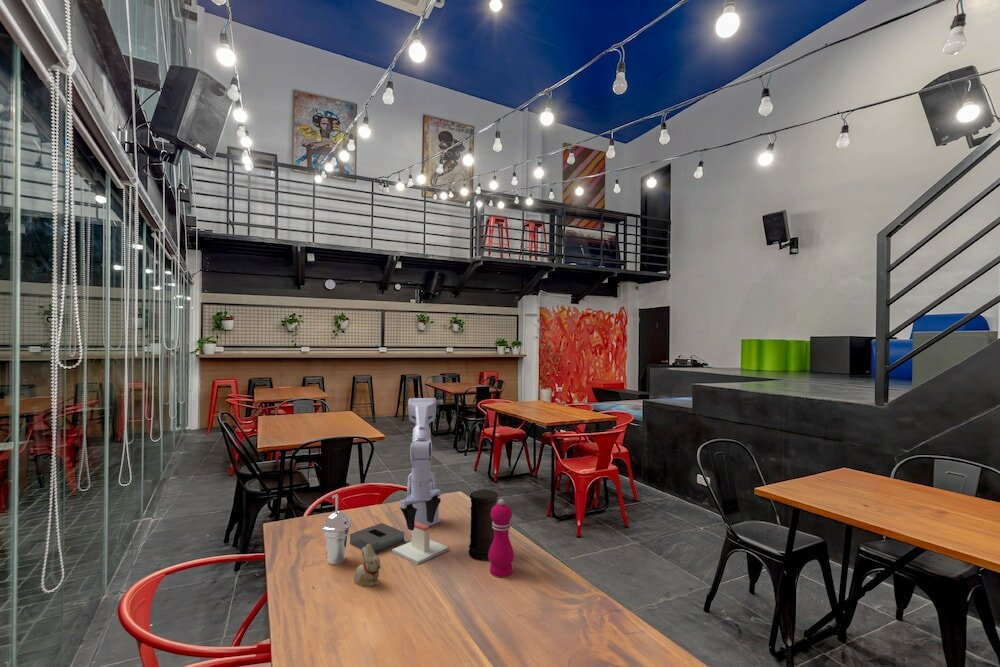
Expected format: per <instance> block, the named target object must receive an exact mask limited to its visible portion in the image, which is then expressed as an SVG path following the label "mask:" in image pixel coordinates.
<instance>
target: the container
mask: <svg viewBox="0 0 1000 667" xmlns="http://www.w3.org/2000/svg"><path fill="white" fill-rule="evenodd" d="M469 497H470V498H469V499H470V503H471V505H470V536H469V538H470V539H469V541H470V542H469V545H468V548H469V549H468V555H469V557H470V558H471V559H473V560H476V561H489V559H488V553H489V549H490V547H491V544H492V542H493V539H494V529H493V528H492V526H493V524H492V523H493V520H492V518H491V510H492V508H493V507H494V506H495V505H497V501H498V498H499V495H498V492H496V491H495V490H492V489H478V490H473V491H472V492H470V494H469Z"/></svg>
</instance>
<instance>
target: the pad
mask: <svg viewBox="0 0 1000 667" xmlns="http://www.w3.org/2000/svg"><path fill="white" fill-rule="evenodd" d="M447 551H449V546H446V545H444V544H442V543H439V542H436V541H434V540H433V539H430V544H429V550H428V551H426V552H422V551H420V550H418V549H416V548H413V547H412V540H411V541H409V542H407V543H405V544H402V545H399V546H397V547H395V548H392V549H391V553H392V554H395V555H398V556H400V557H401V558H403V559H406V560H408V561H410V562H411V563H414V564H417V565H419V564H421V563H422V564H423V562H426V561H428V560H431V559H432V558H434V557H436V556H439V555H441V554H442V553H445V552H447Z"/></svg>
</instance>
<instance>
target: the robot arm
mask: <svg viewBox="0 0 1000 667" xmlns="http://www.w3.org/2000/svg"><path fill="white" fill-rule="evenodd" d="M407 403H408V405H407V410H408V411H407V412H408V419H409V422H412V423H414V425H415V426H414V427H413V429H412V442H411V443H410V450H409V453H410V454H409V455H410V465H411V473H409V474H408V476H407V489H406V495H407V497H405V498H403V499H401V500H399V509H400V510H401V512H402V514H403V516H404V519H405V525H406V526H407V530H410V531H412V530H414V525H415V522H419V523H422V524H424V525H427V526H429V527H431V526H434V525H437V524H438V523H440V522H441V520H440V519H439V516H440V515H439V512H440V511H439V508H440V506H439V505H440V503H441V498H440V497H441V489H437V488H436V484H437V482H436V474H435V473H434V472H433V471H432V470H431V466H432V465H431V462H432V459H433V458H432V457H433V444H432V437H431V436H432V435H431V434H432V432H431V428H430V427H431V426H430V424H431V423H432V422H435V419H436V415H437V398H436V397H423V398H422V397H413V398H412V397H409V399H408V402H407Z"/></svg>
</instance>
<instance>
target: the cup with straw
mask: <svg viewBox="0 0 1000 667" xmlns="http://www.w3.org/2000/svg"><path fill="white" fill-rule="evenodd" d="M334 498H335V511H334V512H331V513H330V514H329V515H328V516H327V517H326V518H325V520H324V522H323V523H322V524H321V528H320V530H321V531H323V534H324V538H325V544H326V545H325V546H326V555H327V556H326V557H327V562H328V564H330V565H338V564H341V563H343V562H344V561H345V556H346V551H347V550H346V548H347V542H348V535H349V532H350V528H351V527H352V526H353V523H352V520H350V518H349V516H348V515H347V514H346V512H343V511H339V495H338V493H336V494H333V495H331V496H330V497H329V500H332V499H334Z"/></svg>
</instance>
